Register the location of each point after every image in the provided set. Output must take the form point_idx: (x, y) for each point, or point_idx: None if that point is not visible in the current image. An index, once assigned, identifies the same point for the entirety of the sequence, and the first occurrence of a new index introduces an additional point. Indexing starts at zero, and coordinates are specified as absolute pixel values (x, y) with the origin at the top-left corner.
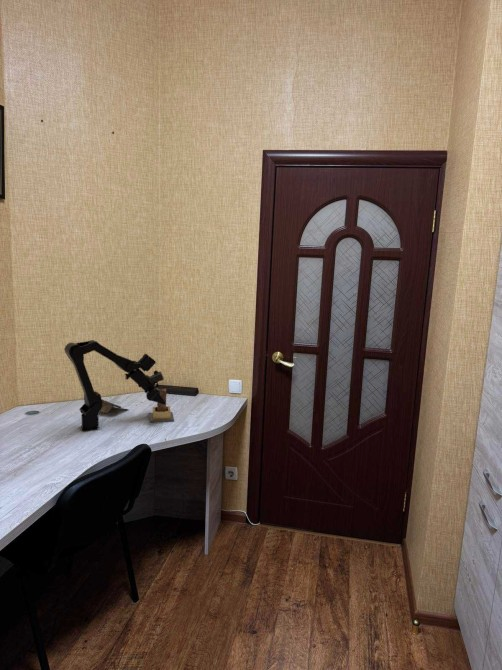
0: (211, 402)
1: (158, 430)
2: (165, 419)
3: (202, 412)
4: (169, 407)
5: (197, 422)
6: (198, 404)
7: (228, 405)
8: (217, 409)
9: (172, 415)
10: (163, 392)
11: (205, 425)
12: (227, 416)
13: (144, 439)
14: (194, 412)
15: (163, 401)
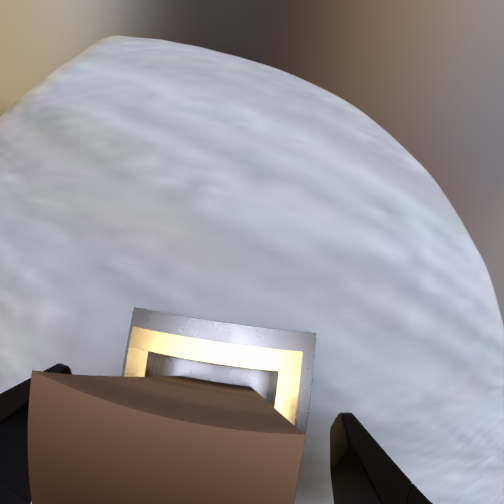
0: (80, 97)
1: (432, 438)
2: (299, 397)
3: (185, 137)
4: (171, 337)
5: (347, 198)
6: (66, 139)
7: (148, 59)
8: (173, 85)
9: (217, 327)
10: (286, 499)
11: (391, 178)
12: (279, 79)
13: (492, 476)
14: (166, 171)
15: (371, 451)
